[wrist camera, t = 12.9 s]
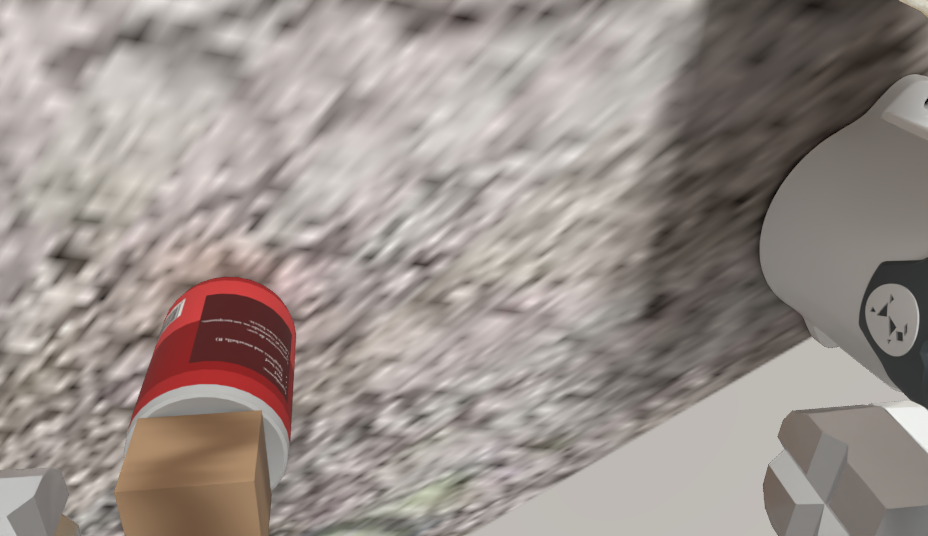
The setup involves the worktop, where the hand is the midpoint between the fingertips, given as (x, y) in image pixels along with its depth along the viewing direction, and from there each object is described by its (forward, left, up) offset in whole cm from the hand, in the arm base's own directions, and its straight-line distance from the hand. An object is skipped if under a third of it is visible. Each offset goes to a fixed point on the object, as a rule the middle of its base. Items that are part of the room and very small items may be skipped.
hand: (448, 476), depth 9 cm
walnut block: (+8, +20, -22) cm, 31 cm away
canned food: (+8, +20, -33) cm, 40 cm away
